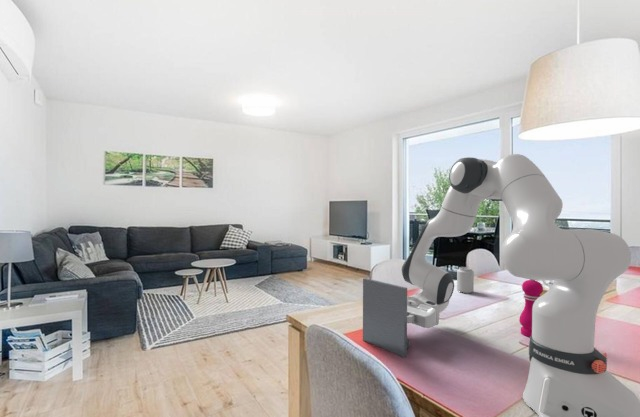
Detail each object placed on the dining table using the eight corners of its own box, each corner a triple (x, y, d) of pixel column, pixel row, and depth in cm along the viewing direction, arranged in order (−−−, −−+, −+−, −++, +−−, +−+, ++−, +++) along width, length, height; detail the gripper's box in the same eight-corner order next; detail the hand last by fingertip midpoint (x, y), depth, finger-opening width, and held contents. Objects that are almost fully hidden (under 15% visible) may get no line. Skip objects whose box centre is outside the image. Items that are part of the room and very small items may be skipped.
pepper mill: (521, 328, 119) (521, 272, 118) (545, 334, 114) (546, 275, 113) (517, 335, 113) (518, 276, 112) (543, 340, 108) (544, 279, 108)
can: (470, 290, 170) (470, 266, 170) (475, 294, 162) (476, 269, 162) (455, 289, 171) (455, 266, 170) (459, 293, 163) (459, 269, 163)
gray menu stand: (419, 349, 102) (419, 284, 101) (404, 357, 97) (404, 288, 96) (378, 333, 114) (378, 275, 113) (362, 340, 109) (362, 278, 108)
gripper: (390, 292, 122) (365, 300, 113) (443, 306, 106) (418, 316, 97) (390, 310, 122) (365, 318, 113) (443, 325, 106) (418, 337, 97)
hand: (390, 317), depth 105 cm, fingers closed on smoothie, 6 cm apart
